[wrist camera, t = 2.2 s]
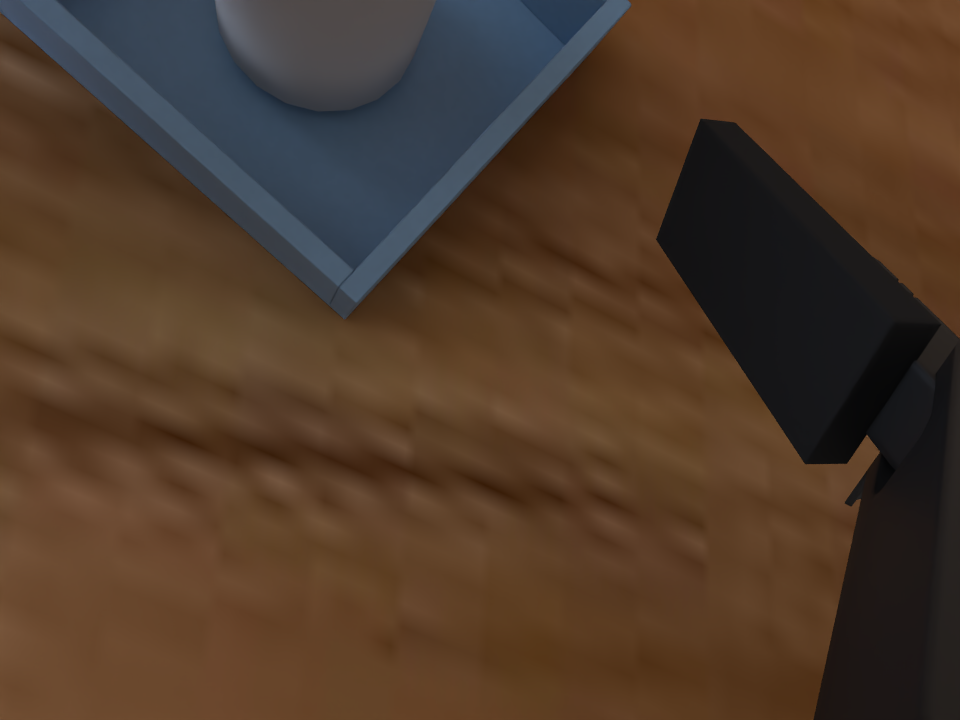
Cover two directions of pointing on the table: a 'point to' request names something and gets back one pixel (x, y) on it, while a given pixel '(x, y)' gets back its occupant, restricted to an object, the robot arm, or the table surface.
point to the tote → (323, 119)
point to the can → (323, 47)
